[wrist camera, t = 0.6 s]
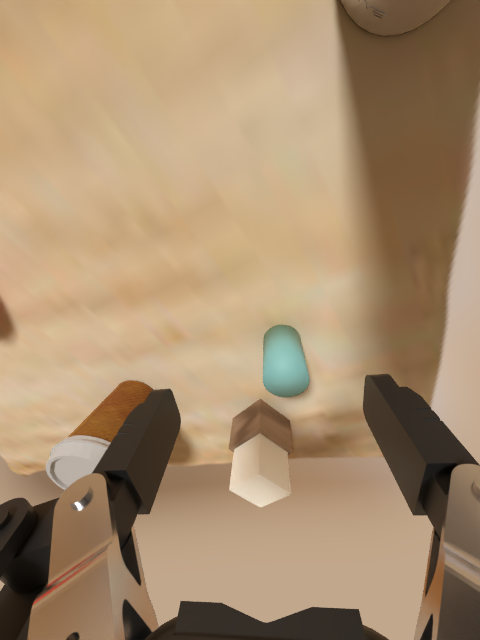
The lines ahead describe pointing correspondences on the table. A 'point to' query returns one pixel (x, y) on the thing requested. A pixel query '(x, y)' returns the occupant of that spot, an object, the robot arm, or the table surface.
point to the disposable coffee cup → (94, 435)
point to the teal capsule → (284, 362)
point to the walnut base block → (261, 426)
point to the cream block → (260, 471)
